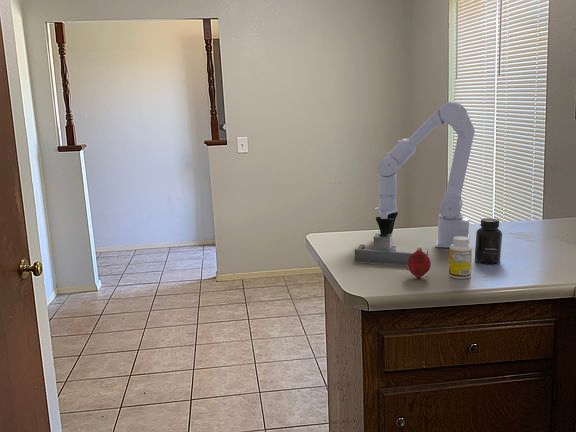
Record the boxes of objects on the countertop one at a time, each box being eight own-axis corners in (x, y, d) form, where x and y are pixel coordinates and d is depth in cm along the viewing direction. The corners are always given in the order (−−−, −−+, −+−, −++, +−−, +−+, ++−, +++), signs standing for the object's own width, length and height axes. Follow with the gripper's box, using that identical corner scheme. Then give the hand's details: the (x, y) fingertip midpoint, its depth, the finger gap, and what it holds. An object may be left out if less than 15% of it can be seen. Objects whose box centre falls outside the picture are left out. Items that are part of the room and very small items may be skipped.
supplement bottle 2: (487, 266, 153) (490, 223, 151) (469, 260, 159) (471, 219, 157) (505, 262, 156) (508, 220, 154) (487, 257, 162) (489, 216, 160)
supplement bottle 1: (454, 271, 149) (455, 234, 147) (474, 275, 145) (476, 237, 143) (444, 277, 145) (446, 238, 143) (465, 281, 141) (467, 241, 139)
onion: (430, 281, 141) (431, 251, 140) (407, 280, 142) (407, 250, 141) (429, 275, 147) (430, 245, 145) (407, 274, 148) (407, 244, 146)
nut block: (391, 246, 176) (392, 233, 176) (389, 250, 172) (390, 237, 171) (375, 245, 178) (376, 233, 177) (373, 249, 173) (373, 236, 172)
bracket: (427, 258, 162) (428, 246, 161) (425, 267, 153) (425, 255, 152) (360, 253, 168) (360, 242, 167) (354, 262, 159) (354, 250, 158)
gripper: (378, 191, 188) (378, 230, 190) (371, 198, 174) (370, 240, 177) (400, 191, 185) (399, 231, 188) (394, 199, 172) (393, 242, 175)
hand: (386, 236), depth 182 cm, fingers open, 7 cm apart
